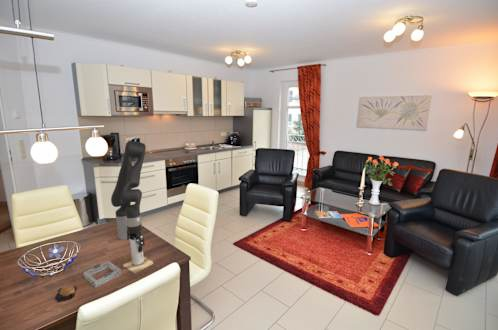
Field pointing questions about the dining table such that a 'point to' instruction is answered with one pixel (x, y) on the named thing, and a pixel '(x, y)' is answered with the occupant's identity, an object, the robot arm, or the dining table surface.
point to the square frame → (106, 277)
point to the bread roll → (66, 293)
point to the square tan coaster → (137, 268)
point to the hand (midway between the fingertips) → (136, 249)
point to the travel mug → (135, 251)
